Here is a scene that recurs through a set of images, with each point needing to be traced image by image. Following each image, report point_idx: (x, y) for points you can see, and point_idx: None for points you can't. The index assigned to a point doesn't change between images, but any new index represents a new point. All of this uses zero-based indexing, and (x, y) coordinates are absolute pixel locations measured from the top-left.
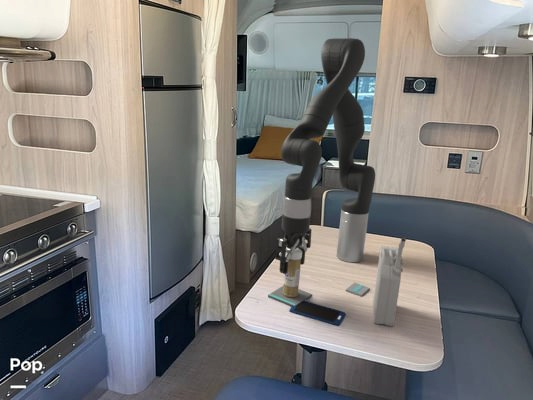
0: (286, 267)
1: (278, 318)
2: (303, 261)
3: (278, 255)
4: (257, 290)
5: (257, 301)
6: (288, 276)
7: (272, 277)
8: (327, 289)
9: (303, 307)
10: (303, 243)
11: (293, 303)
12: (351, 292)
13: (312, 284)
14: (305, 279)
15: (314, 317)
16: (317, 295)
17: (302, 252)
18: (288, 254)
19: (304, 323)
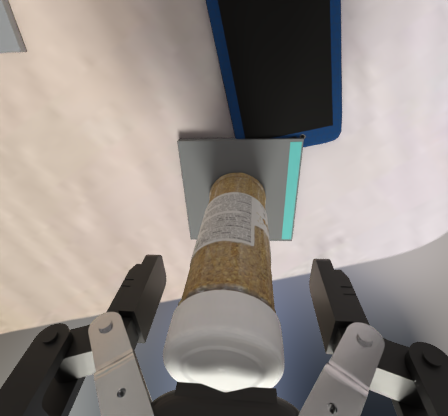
0: (341, 289)
1: (407, 138)
2: (152, 265)
3: (417, 407)
4: (276, 272)
5: (335, 242)
6: (269, 244)
7: (181, 281)
8: (88, 121)
9: (286, 108)
10: (142, 413)
11: (290, 152)
12: (11, 16)
13: (110, 181)
14: (105, 215)
15: (336, 16)
16: (158, 124)
17: (136, 319)
18: (370, 382)
19: (396, 30)
